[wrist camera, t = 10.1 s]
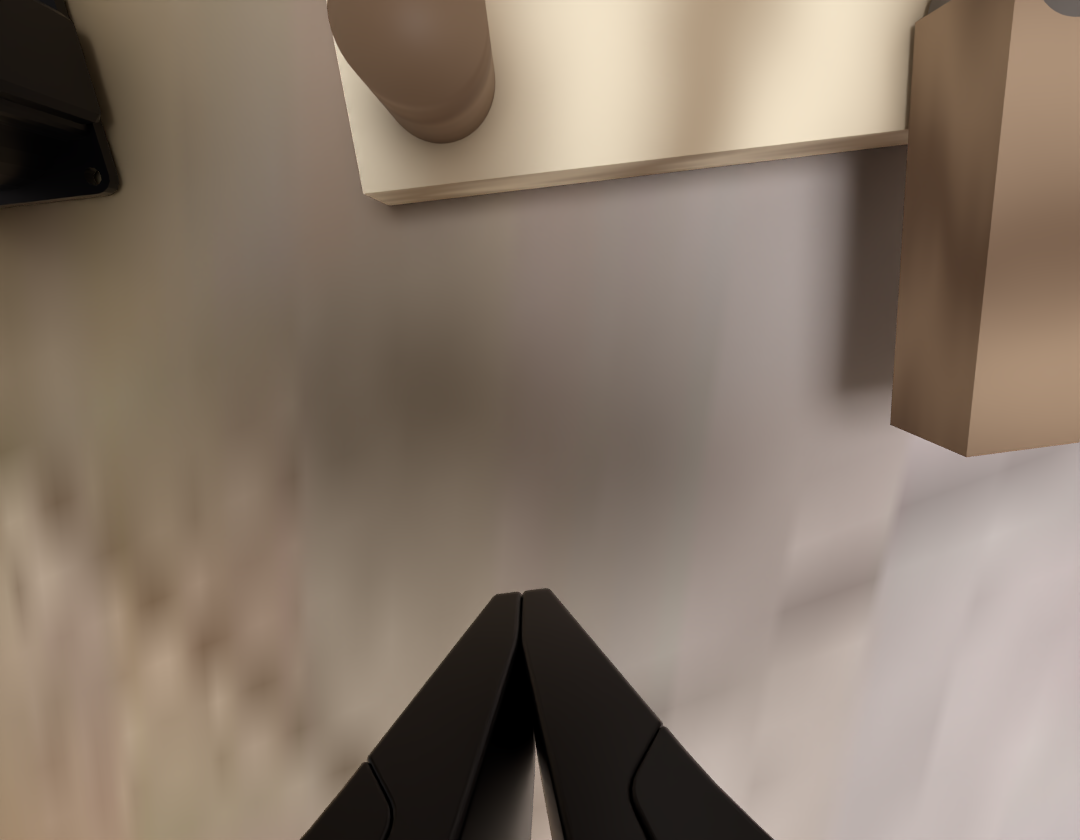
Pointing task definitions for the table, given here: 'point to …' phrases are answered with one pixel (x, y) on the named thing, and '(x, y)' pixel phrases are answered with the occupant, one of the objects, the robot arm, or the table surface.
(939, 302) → the hinged leg
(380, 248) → the table surface
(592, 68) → the stool seat
